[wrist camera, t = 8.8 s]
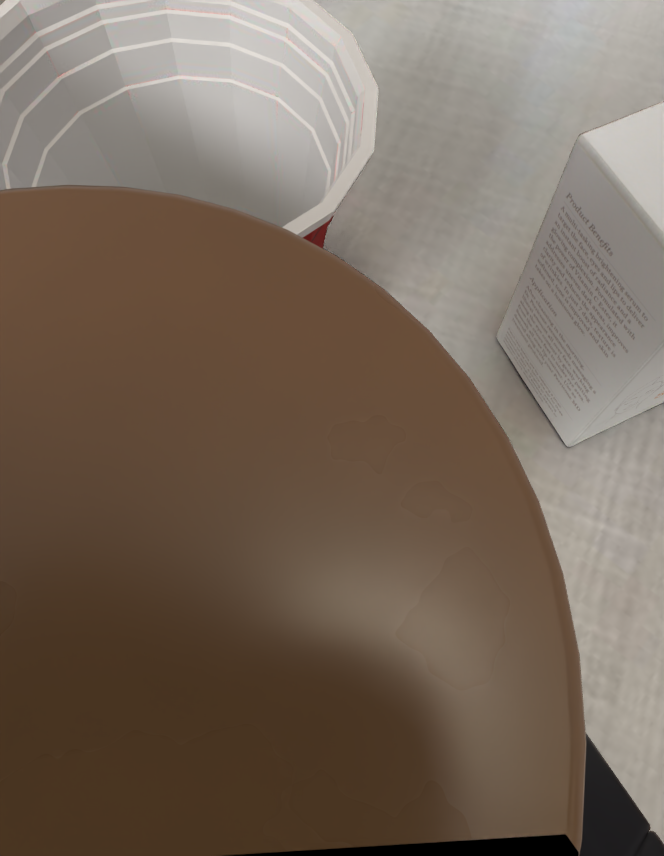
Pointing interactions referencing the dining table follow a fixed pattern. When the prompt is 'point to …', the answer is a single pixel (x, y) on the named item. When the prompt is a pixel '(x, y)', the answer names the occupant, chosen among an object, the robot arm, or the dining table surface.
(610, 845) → the robot arm
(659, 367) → the small box
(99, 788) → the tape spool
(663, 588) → the dining table surface
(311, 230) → the plastic cup
